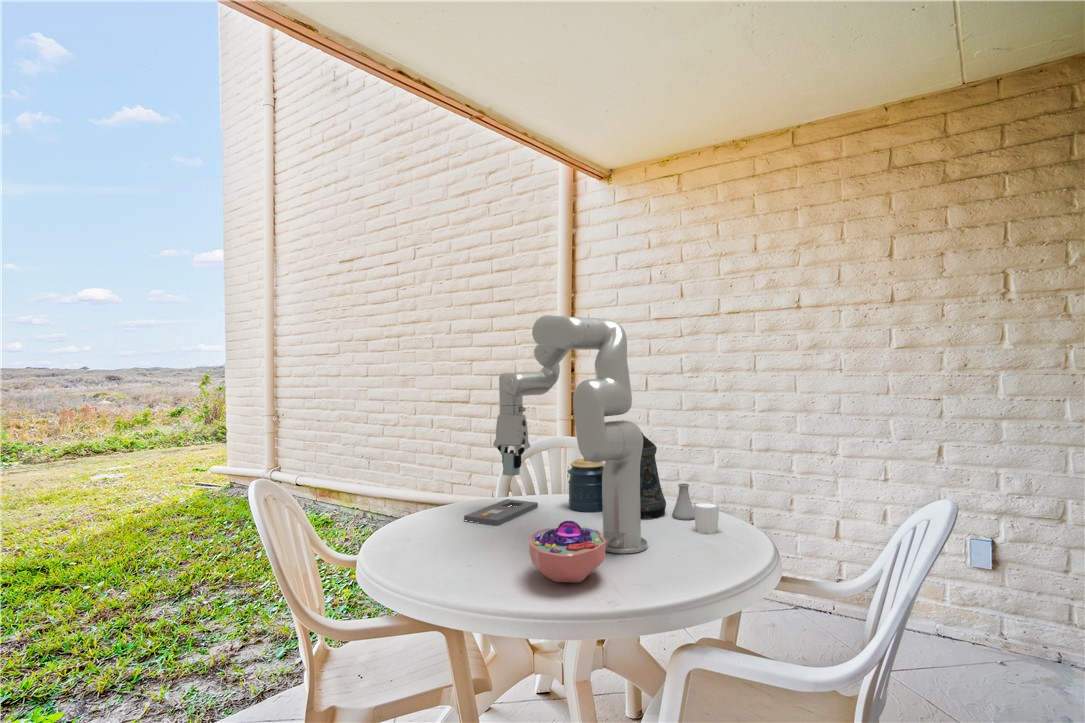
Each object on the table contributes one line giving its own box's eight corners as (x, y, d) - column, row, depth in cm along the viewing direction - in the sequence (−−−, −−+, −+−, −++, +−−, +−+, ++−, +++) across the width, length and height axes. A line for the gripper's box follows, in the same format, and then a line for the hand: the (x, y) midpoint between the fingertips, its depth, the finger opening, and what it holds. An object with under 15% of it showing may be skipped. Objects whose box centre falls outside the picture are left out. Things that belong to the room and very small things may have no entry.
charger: (512, 475, 176) (513, 450, 177) (502, 475, 178) (503, 450, 178) (519, 474, 180) (520, 449, 181) (510, 473, 182) (510, 449, 182)
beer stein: (673, 509, 175) (671, 431, 176) (652, 524, 159) (650, 437, 159) (624, 504, 184) (623, 429, 184) (599, 518, 167) (598, 435, 168)
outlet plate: (497, 525, 160) (497, 518, 160) (464, 521, 166) (464, 513, 166) (537, 507, 181) (537, 500, 181) (507, 503, 187) (506, 497, 187)
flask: (667, 515, 169) (667, 482, 169) (689, 513, 170) (688, 481, 171) (678, 521, 162) (677, 487, 162) (701, 519, 163) (700, 485, 164)
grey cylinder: (694, 533, 150) (693, 507, 150) (693, 526, 156) (692, 501, 156) (720, 534, 148) (720, 508, 148) (718, 527, 155) (718, 502, 155)
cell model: (515, 591, 112) (514, 535, 112) (543, 559, 131) (542, 511, 131) (597, 599, 107) (596, 541, 107) (614, 565, 126) (613, 515, 127)
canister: (592, 514, 171) (591, 457, 171) (560, 508, 180) (559, 453, 180) (616, 506, 181) (615, 452, 181) (585, 501, 189) (584, 449, 190)
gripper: (539, 410, 179) (539, 467, 179) (496, 409, 187) (496, 463, 187) (527, 412, 172) (528, 471, 172) (483, 410, 180) (484, 467, 180)
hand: (511, 466), depth 179 cm, fingers closed on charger, 3 cm apart
